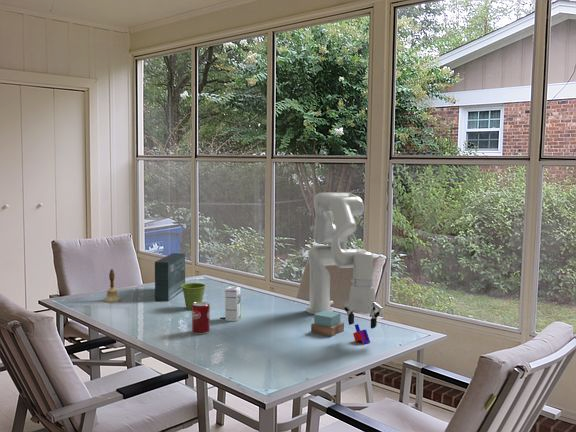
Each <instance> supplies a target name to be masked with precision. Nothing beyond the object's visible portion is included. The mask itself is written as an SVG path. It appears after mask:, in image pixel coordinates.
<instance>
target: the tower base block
mask: <svg viewBox="0 0 576 432" xmlns="http://www.w3.org/2000/svg"><path fill="white" fill-rule="evenodd" d="M310 327H311V328H310V332H312V334H316V333H317V335H321V334H322V336H326V335H327V337H334V336H336V334H337V335H338V333H339V334H341V333H343V332H344V331H345V322H344V321H343V322H341V321H340V323H338V324H336V325H334V326H332V327H328V326H322V325H317V324H314V322H312V323H311V325H310ZM340 332H341V333H340Z"/></svg>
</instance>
